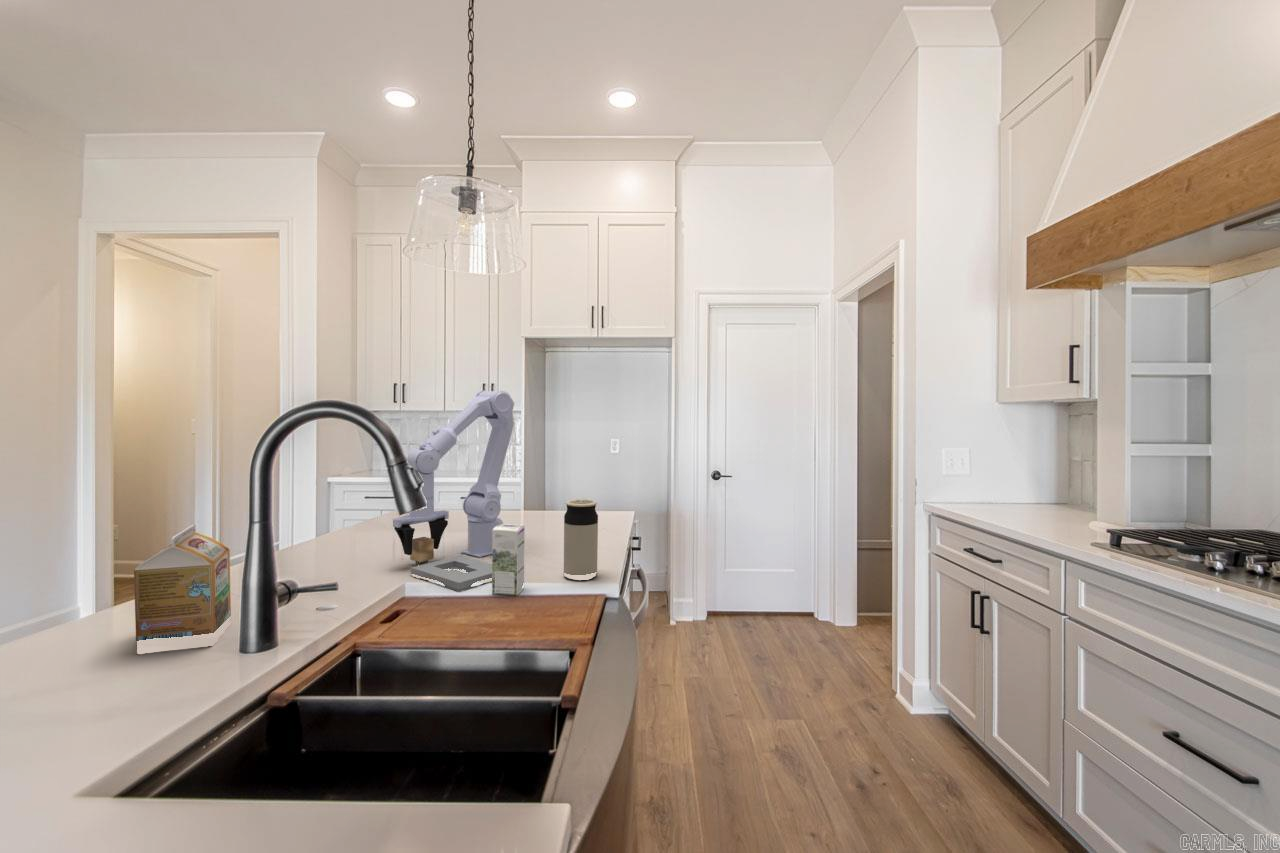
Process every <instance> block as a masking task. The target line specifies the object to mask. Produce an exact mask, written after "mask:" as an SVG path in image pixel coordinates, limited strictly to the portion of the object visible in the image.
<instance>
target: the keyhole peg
mask: <svg viewBox="0 0 1280 853" xmlns="http://www.w3.org/2000/svg"><path fill="white" fill-rule="evenodd" d="M434 550H435V549H434V539H431V537H427V536H421V537H420V536H419V537H417V538H413V540H412V554H411V555H409V559H410V560H411V561H415V566H417V565H423V564H427V563H429V561H430V560H434V559H435V558H434V557H435V552H434Z"/></svg>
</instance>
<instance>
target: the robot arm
mask: <svg viewBox="0 0 1280 853" xmlns="http://www.w3.org/2000/svg"><path fill="white" fill-rule="evenodd" d="M514 407H515V401H514V400H513V398H512V397H511V395H510V394H509V392H507V391H505V390H498V391H497V390H496V391H495V390H481V391H479V392H477V393H476V394H475V396H473V397H471V398H470V400H469V402H468V404H467V405H466V406H465V407H464V408H463V409H462V410H461V412H459V413H458V415H456V417H455V418H454V419H453V420H452V421H451V422H449V424H448V425H447V426H446V427H439V428H435V429H433V430H432V432H431V433H432V434H431V436H429V437H428V438H427V439H426V440H425V441H424V442H421V443H420V444H419V445H418V448H416V449H412V450H411V451H410V452H409V453H408V454H407V458H406V460H408V463H409V465H410V466H412V467H414V468H415V469H417V471H418V472H419V473H420V475H421V476H422V478H423V480H424V486H423V487H422V492H423V494H424V496H425V498H426V500H427V508H424V509H421V510H417V511H413V512H411V513H410V512H409V514H406V515H404V516H399V517H396V518H392V527H394V528H393V529H394V531H395V532H396V534H397V535H398V538H399V540H400V543H401V546H402V550H403V553H404V555H406V556H410V555H411V554H412V540H413V539H414V533H415V531H416V529H415V528H413V527H412V526H411V525H417V524H421V523H428V526H429V531H430V538H431V539H434V550H439V546H440V543H441V539H442V537H443V534H444V532H445V529H446V528H447V526H448V525H449V521H448V519H449V517H450V514H449V512H450V511H448V510H444V509H443V510H437V511H436V510H435V509H434V508H435V483H434V482H435V471H437V469H438V467H439V465H440V460H441V459H442V458H443V457H444V456H445V455H446V454H447V453H448V452H449V451H450V450H451V449H452V448H453V447H454V446H455V445H456V444H457V440H458V438H457V437H458V436H459V435H460V434H461V433H462V432H464V430H466V429H467V428H469V426H471V424H472V423H473V422H475V421H476V420H477V419H479V418H481V417H482V418H483V417H484V418H485V419H487V421H488V423H489V425H490V426H491V431H490V434H489V438H488V441H487V446H486V449H485V453H484V455H483V460H482V464H481V467H480V471H479V475H478V478H477V482H476V483H475V484H473V485H472V486H471V487H470V489H469V492H468V494H467V495H466V496H465V498H464V499H463V502H462V510H463V512H464V514H465V515H466V516H467V517H466V518H467V548H466V549H461V550H460V553H463V554H465V555H469V556H473V557H476V558H482V557H486V556H490V555H492V529H493V528H495V527H496V526H497V525H499V524H504V522H503V520H502V519H501V518H499V515H500V513H501V509H502V508H501V498H502V494H501V492H500V490H499V488H498V485H499V482H500V478H501V473H502V471H503V467H504V462H505V459H506V456H507V455H506V454H507V452H508V448H509V444H510V440H511V437H512V433H513V428H514V412H513V411H514Z"/></svg>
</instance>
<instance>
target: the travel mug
mask: <svg viewBox="0 0 1280 853" xmlns="http://www.w3.org/2000/svg"><path fill="white" fill-rule="evenodd" d="M597 504H598V502H597V500H594V499H589V498H588V499H587V498H586V499H585V498H583V499H581V498H578V499H577V498H576V499H569V500H567V501H565V505H566V512H565V513H564V516H563V518H564V519H563V520H564V521H563V530H564V531H563V574H564V573H566V574H570V575H586V574H591V573H595V572H597V573H598V548H599V547H598V542H599V538H598V536H599V535H598V534H599V533H598V532H599V530H598V529H599V526H598V525H599V514H598V512H597V510H596V506H597Z"/></svg>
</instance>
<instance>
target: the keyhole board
mask: <svg viewBox="0 0 1280 853" xmlns="http://www.w3.org/2000/svg"><path fill="white" fill-rule="evenodd" d="M448 568H449V569H452V570H450V571H448V570H444V569H448ZM453 569H459V570H460V569H461V570H462V569H464V570H466V572H468V573H463V572H460V571H457V570H453ZM411 574H415V575H418V576H421V577H425V578H429V579H433V580H437V581H439V582H441V583H443V584H444V585H445V587H444V588H446V589H449V590H453V591H455V592H459V593H460V592H462V591H467V590H469V589H471V588H470V587H471V585H472V584H473V583H475V582H477V581H481V580H485V579H489V578H492V563H489V562H486V561H481V560H478V559H475V558H473V557H469V556H468V557H467V556H463V555H461V554H460V555H456V556H451V557H448V558H444V559H440V560H435V561H433V562H428V563H427V564H423V565H419V566H417V565H415V566H412V567H410V575H411Z"/></svg>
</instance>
